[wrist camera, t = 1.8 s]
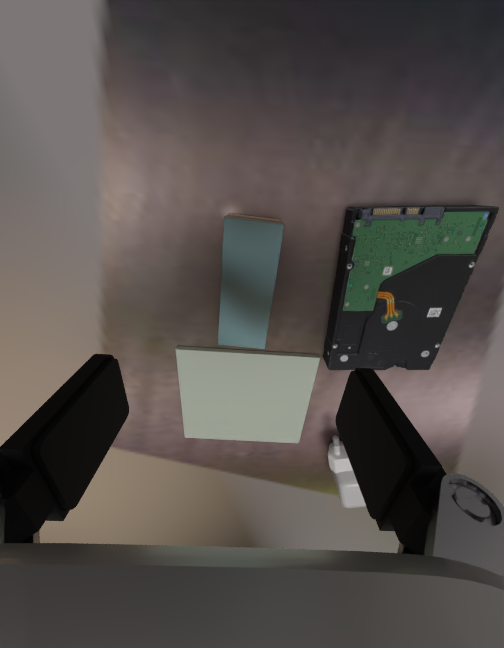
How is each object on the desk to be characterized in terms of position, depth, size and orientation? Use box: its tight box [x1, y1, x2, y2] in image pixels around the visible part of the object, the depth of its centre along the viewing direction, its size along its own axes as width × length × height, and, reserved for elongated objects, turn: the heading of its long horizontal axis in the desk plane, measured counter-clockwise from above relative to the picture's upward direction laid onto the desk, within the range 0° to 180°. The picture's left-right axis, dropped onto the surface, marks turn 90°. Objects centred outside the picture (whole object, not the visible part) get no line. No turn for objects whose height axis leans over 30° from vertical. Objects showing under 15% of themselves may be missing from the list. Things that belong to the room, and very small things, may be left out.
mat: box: [176, 346, 320, 443], centre depth 28 cm, size 14×15×1 cm
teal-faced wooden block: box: [218, 213, 284, 349], centre depth 20 cm, size 10×4×4 cm, turn 174°
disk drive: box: [323, 205, 499, 370], centre depth 22 cm, size 10×3×15 cm
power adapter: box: [328, 435, 366, 508], centre depth 30 cm, size 11×5×6 cm, turn 14°
